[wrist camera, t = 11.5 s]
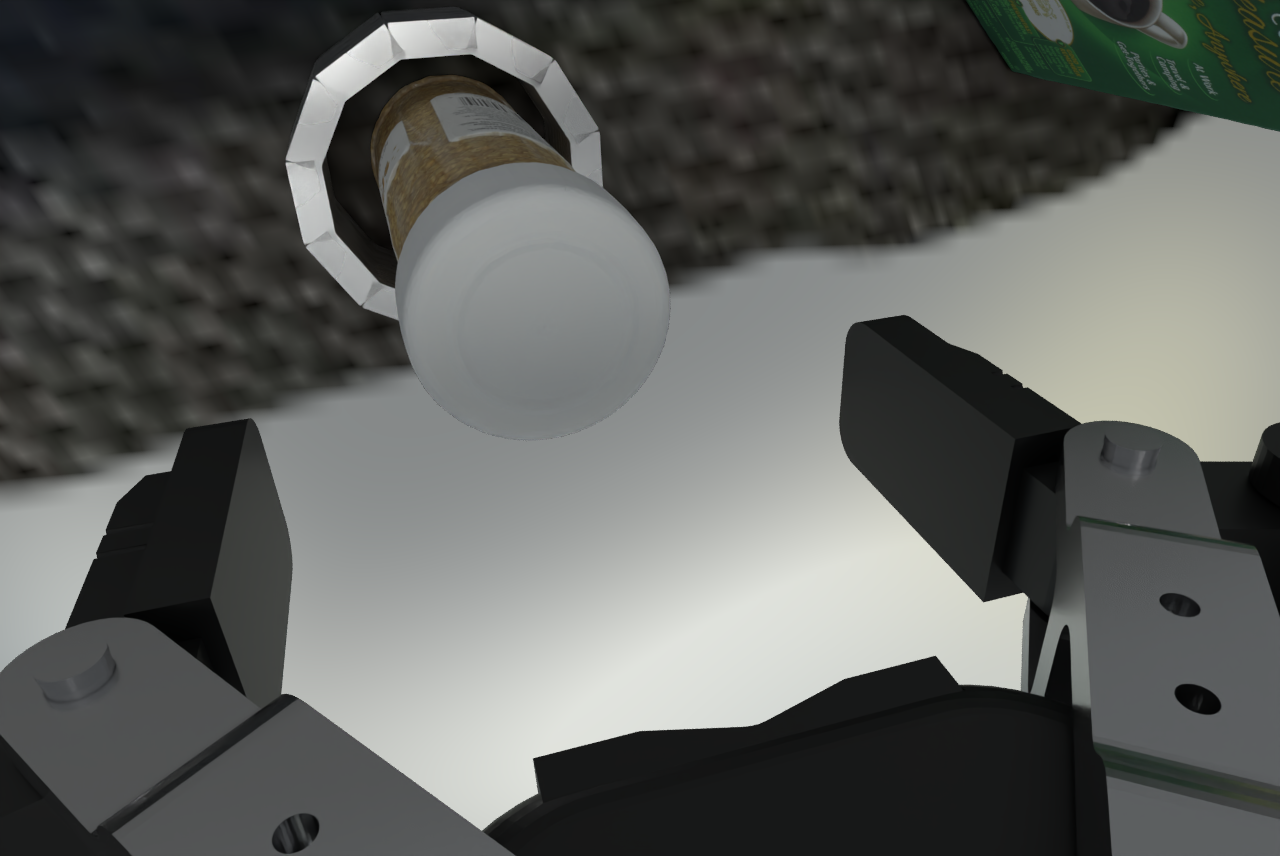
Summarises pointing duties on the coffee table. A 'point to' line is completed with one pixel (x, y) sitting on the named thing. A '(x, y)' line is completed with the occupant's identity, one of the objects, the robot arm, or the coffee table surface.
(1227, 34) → the coffee box
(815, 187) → the coffee table surface
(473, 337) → the sprinkles bottle
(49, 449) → the coffee table surface
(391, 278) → the aluminium ring
